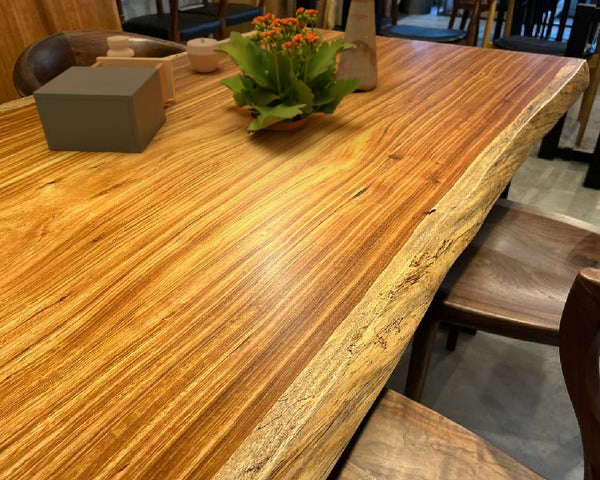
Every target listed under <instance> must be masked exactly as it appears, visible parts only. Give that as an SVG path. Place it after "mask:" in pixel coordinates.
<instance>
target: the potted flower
mask: <svg viewBox="0 0 600 480" xmlns="http://www.w3.org/2000/svg"><path fill="white" fill-rule="evenodd" d="M318 13H319V10H315V9H305V8H304V7H299V8H298V9H296V12H295V17H286V18H282V19H281V18H279V17H278V18H275V17H276V15H275V14H272V13H270V12H267V13H266V14H265V16H264V15H263V16H260V15H258V16H257V17H255V18H253V19H252V21H251V25H252V26H253V25H254V26H255V27H254V28H253V29H254V30H255V31H256V32H252V33H251V34H248V36H245V37H244V35H242V34H241V33H240V31H237V32H236V31H230V35H229V38H230V39H228V41H229V42H228V41H226V42H225V43H223V42H219V45H218V47H219V48H220V49H214V50H213V51H214V52H219V53H221V54H224V55H226V56H228V57H229V58H230V59H231V60H232V62H233V64H235V66H237V67H238V70H239V71H241V73H242V74H240V73H238V74H237V75H234V76H233V78H231V77H228V78H222V79H221V80H220V84H221V85H223V86H225V87H226V88H228V89H229V90H230V91H231V92H232V93H233V94H232V98H233V100H234V104H235V105H236V106H237V108H239V109H241V108H243V107H247V106H248V107H250V108H248V109H247V112H249V115H250V118H251V122H250V123H249V125H248V127H247V128H246V133H247V134H248V135H250V134H254V133H255V132H258V130H261V129H264V130H268V131H269V130H270V131H291V130H294V129H297V128H299V127H302V126H303V125H305V123H306V121H307V119H308V118H310V116H311V115H313V114H315V113H316V114H325V115H333V114H334V113H335V111H336V110H337V107H338V106H339V105H340V104H341V101H343V100H344V99H345V98H346V97H347V96H350V94H352V93H353V92H354V91H356V90H355V89H356V88H358V86H359V85H360V84H361V82H362V79H358V80H357V78H355V79H352V80H351V79H348V80H346V81H344V80H343V79H342V80H340V81H337V82H336V75H337V73H336V71H337V67H336V66H337V65H338V62H337V55H338V54H339V55H340V53H341V52H343V51H346V50H350V49H355V48H356V47H357V46H356V45H355V44H350V43H349V41H348V42H346V43H345V44H344V37H338V38H336V39H335V40H334V39H333V40H332V41H331V42H330V43H329V41H328V40H323V39H324V36H322V34H321V33H320V31H318V30H317V31H316V30H315V29H314V24H315V23H317V21H318V17H317V14H318ZM307 25H310V26H311V29H310V28H309V27H307ZM255 33H256V34H255ZM263 44H264V47H265V48H263V47H262V46H261V45H263ZM268 47H269V48H268Z"/></svg>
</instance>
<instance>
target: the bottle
mask: <svg viewBox="0 0 600 480" xmlns="http://www.w3.org/2000/svg"><path fill="white" fill-rule="evenodd" d="M375 12H376V11H375V0H351V1H350V6H349V9H348V15H347V20H346V26H345V30H344V35H343V39H344V44H345V43H346V42H348V41H349V43H350V44H355V45H356V46H357V47H356V48H355V49H350V50H346V51H343V52H341V53H339V59H338V62H337V67H336V71H335V73H337V75H336V81H335V83H336V82H337V81H340V80H342V79H343V80H344V81H346V80H348V79H351V80H352V79H355V78H357V80H358V79H362V82H361V84H360V85H359V86H358V88H356V89H355V90H354V91H370V90H373V89H375V88H376V86H377V84H378V81H379V76H378V75H379V74H378V56H377V50H378V49H377V48H378V47H377V37H376V36H377V34H376V13H375Z"/></svg>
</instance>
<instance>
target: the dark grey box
mask: <svg viewBox="0 0 600 480" xmlns="http://www.w3.org/2000/svg"><path fill="white" fill-rule="evenodd" d="M32 96H33V98H34V102H35V107H36V110H37V113H38V117H39V120H40V124H41V127H42V131H43V133H44V138H45V141H46V144H47V147H48V150H49V151H73V152H75V151H76V152H103V153H105V152H106V153H139V154H140V153H141V154H142V153H143V152H144V151H145V149H147V147H148V145H149V144H150V143H151V142H152V140H153V138H154V137H155V136H156V135H157V133H158V132H159V130H160V129H161V128H162V127H163V125H164V123H165V122H166V121H167V118H166V117H167V116H166V111H165V110H166V109H165V104H164V103H163V96H162V89H161V82H160V75H159V69H158V68H123V67H91V66H79V65H78V66H76V65H75V66H74V65H72V66H70V67H69V68H68V69H66V70H64V71H63V72H62V73H60V74H58V75H57V76H56V77H54V78H53V79H51V80H50V81H48V82H47V83H45V84H44V85H42V86H40V87H39V88H38V89H36V90H34V91H33V92H32Z"/></svg>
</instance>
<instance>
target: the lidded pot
mask: <svg viewBox="0 0 600 480" xmlns="http://www.w3.org/2000/svg"><path fill="white" fill-rule="evenodd" d="M219 44H220V42H219V41H218V40H217V39H214V38H207V37H202V38H201V37H199V38H198V37H197V38H194V39H190V40H188V41H187V42H186V48H185V49H186V50H185V51H186V54H187V57H188V61H189V62H190V64H191V67H192V68H193V69H194V70H195V71H196V72H197V73H204V74H205V73H211V72H214V71H215V70H216V69H217V67H218V65H219V64H220V61H221V60H220V59H221V54H222V53H219V52H214V51H213V50H214V49H220V48H219V47H218V45H219Z"/></svg>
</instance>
